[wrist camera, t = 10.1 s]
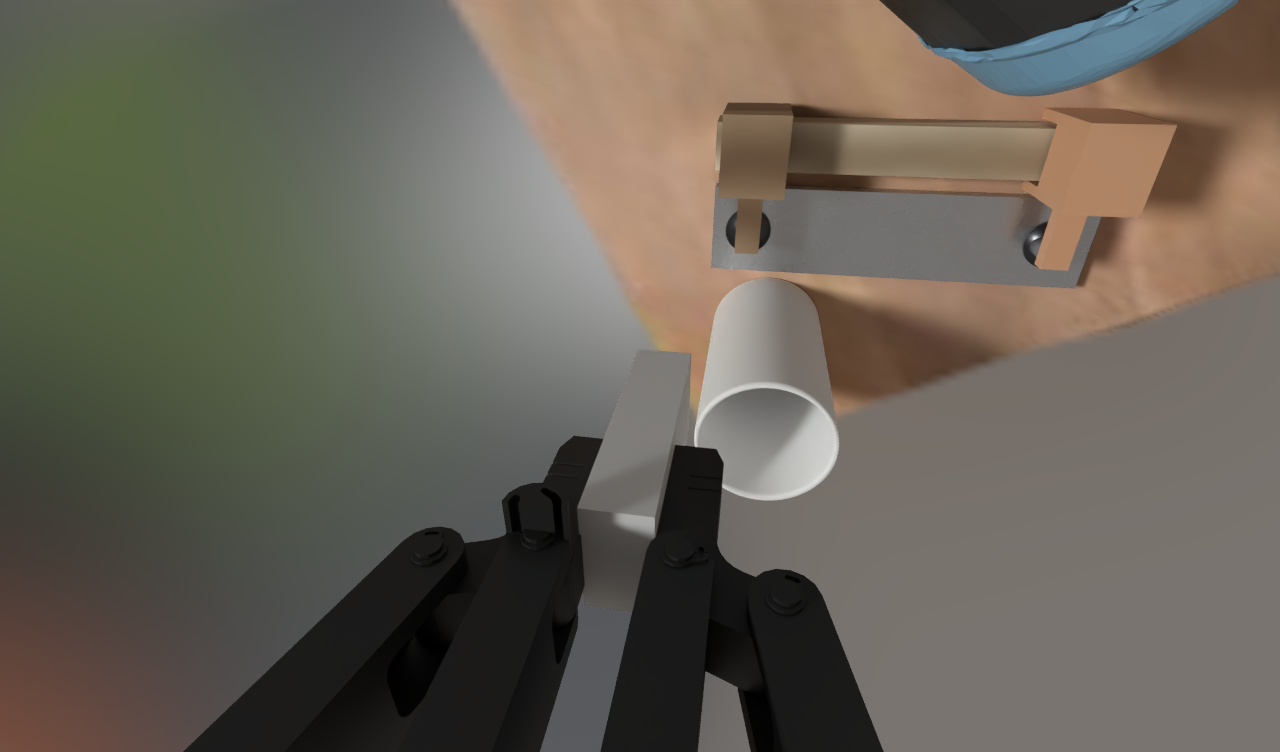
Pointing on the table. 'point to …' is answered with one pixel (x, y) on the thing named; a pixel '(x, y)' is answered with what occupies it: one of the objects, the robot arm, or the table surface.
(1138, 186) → the block
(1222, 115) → the table surface
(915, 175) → the beam
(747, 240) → the fixed leg
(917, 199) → the bolt strip
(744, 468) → the cup
